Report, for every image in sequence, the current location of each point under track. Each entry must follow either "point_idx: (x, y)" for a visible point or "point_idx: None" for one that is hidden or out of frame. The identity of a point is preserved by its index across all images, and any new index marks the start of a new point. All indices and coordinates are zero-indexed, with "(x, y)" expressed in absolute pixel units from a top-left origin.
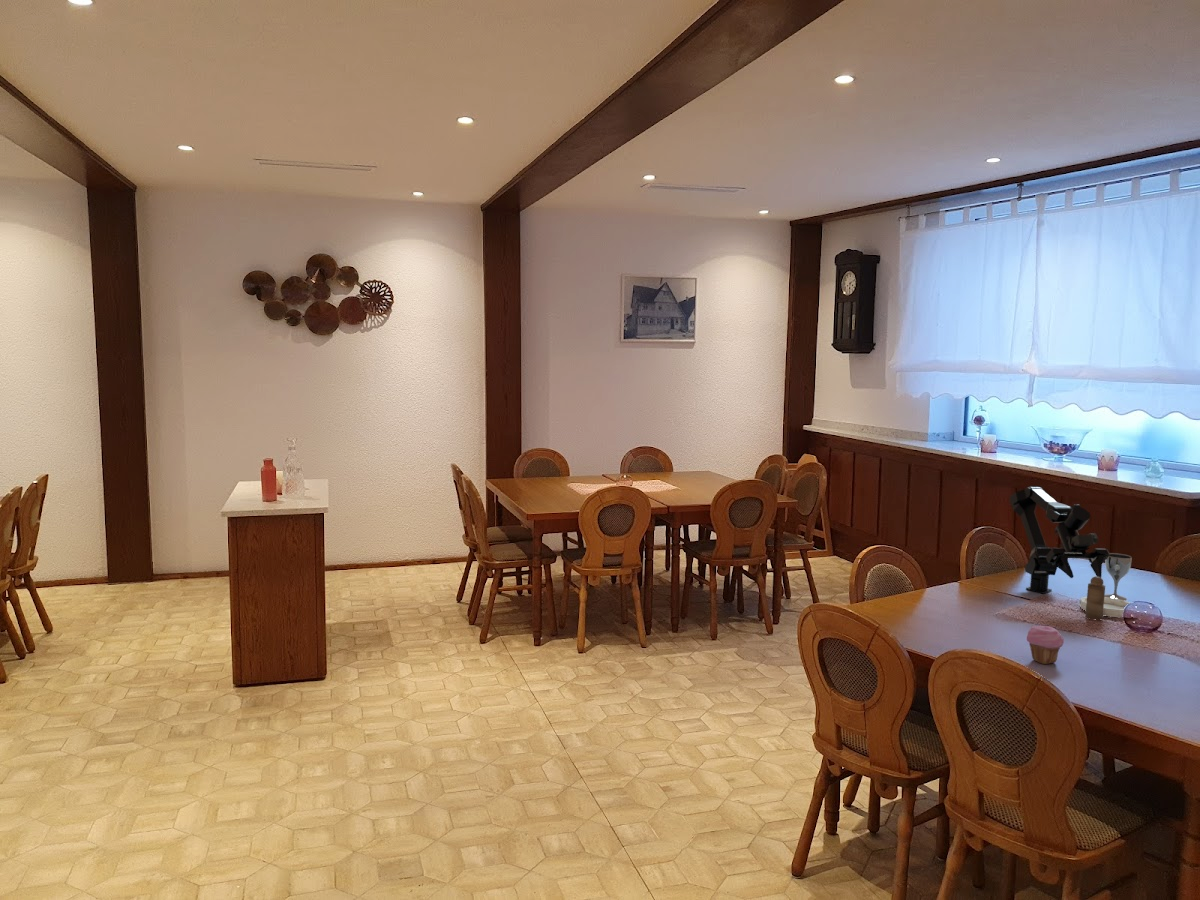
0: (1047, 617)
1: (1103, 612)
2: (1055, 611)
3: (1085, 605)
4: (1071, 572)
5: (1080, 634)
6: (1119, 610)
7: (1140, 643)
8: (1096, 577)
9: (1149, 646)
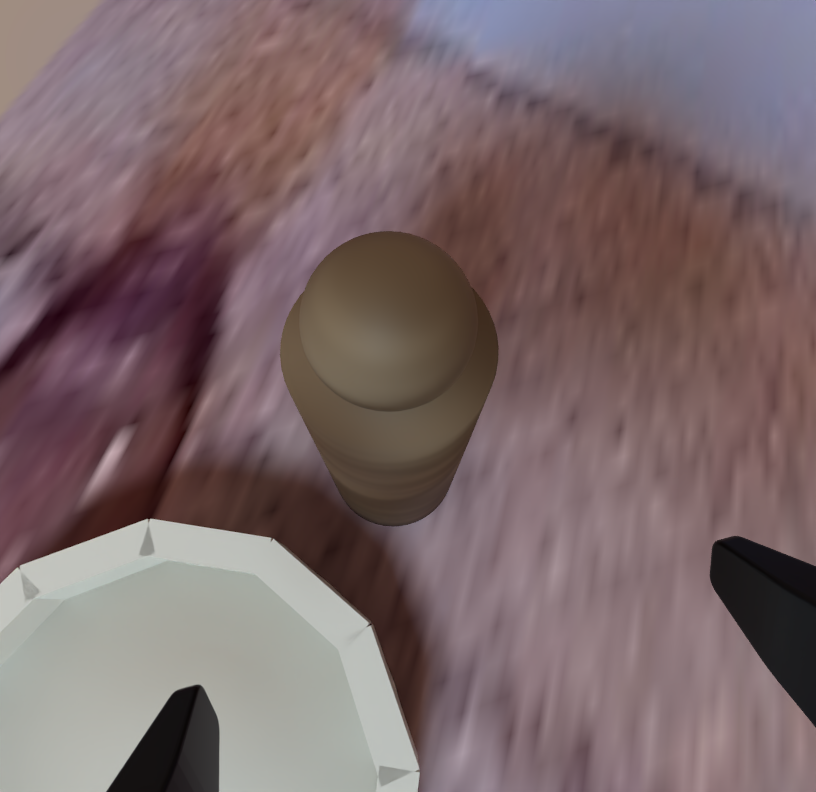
0: (730, 390)
1: (288, 549)
2: (659, 596)
3: (398, 703)
4: (800, 579)
5: (572, 105)
6: (156, 521)
7: (298, 48)
8: (412, 249)
9: (274, 19)
